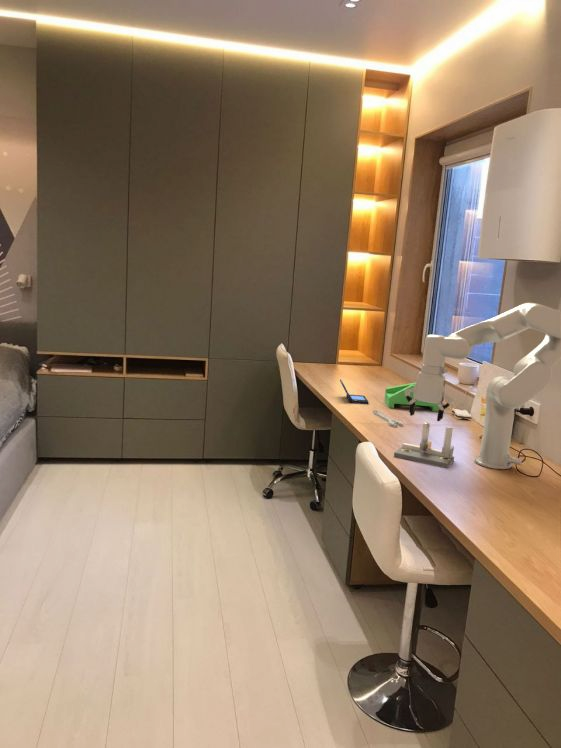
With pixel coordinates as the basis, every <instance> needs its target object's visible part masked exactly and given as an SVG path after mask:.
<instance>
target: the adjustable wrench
mask: <svg viewBox="0 0 561 748" xmlns="http://www.w3.org/2000/svg"><path fill="white" fill-rule="evenodd" d="M373 413H374V414H373ZM372 414H373V415H375V416H377V417H378V416H379V418H380V419H382V420H384V421H385V420H386V421H385V422H387V423H388V426H389V427H391V426H393V427H392V428H398V425H399V427H401V426H403V425H404V423H403V421H401V420H395V419H392V418H391V417H389V416H388V415H385V414H384V413H382V412H380V411H379V410H375V409H374V410H372Z"/></svg>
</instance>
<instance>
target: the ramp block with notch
mask: <svg viewBox="0 0 561 748" xmlns="http://www.w3.org/2000/svg"><path fill="white" fill-rule="evenodd" d="M415 384H416V381H415V382H411V383H407V384H401V385H394V386H390V387H385V392H384V401H385V402H384V403H385V405H386V404H387V405H386V406H388V407H390V408H389V409H395V404H397V405H398V404H399V405H407V406H408V405H409V406H410V404H409V402H408V400H407V399H406V396H405V393H404V391H405V390H408V389H411V388H414V387H415ZM413 393H414V391H413V392H410V393H409V394H410V396H411V398H412V399H413ZM415 404H416V406H423V407H428V406H429V407H430V408H431V409H432V410H433V411H432V410H431V409H430V408H429V407H428V408H429V409H430V410H431V411H432V412H438V410H440V408H439V407H438V405H437V404H433V403H428V402H423V401H418V400H417V401H416V402H415ZM388 407H387V408H388Z"/></svg>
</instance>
